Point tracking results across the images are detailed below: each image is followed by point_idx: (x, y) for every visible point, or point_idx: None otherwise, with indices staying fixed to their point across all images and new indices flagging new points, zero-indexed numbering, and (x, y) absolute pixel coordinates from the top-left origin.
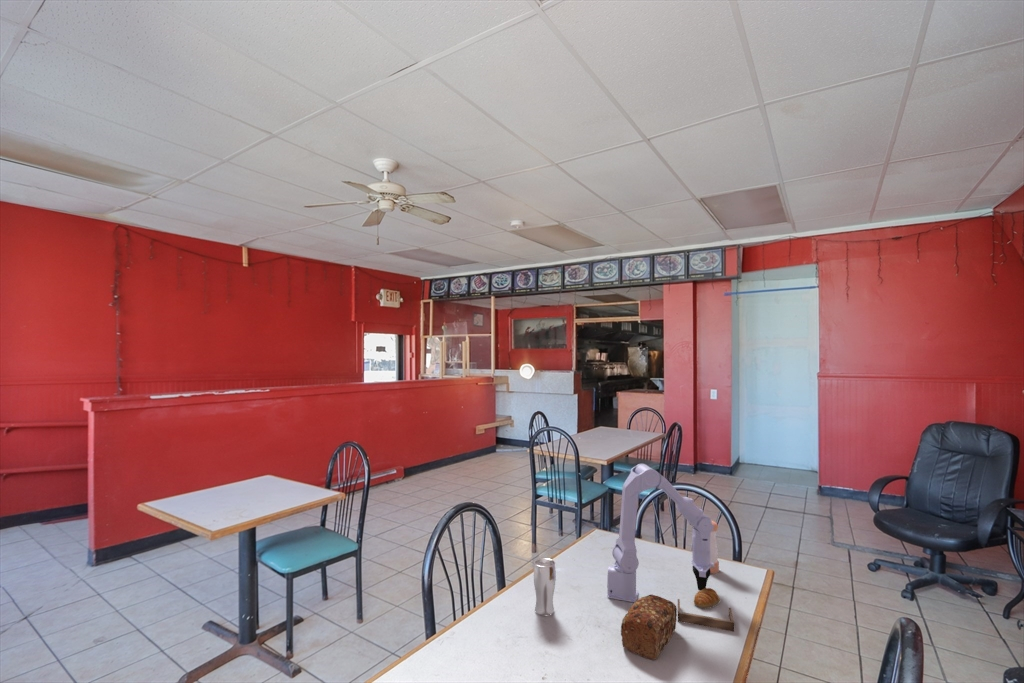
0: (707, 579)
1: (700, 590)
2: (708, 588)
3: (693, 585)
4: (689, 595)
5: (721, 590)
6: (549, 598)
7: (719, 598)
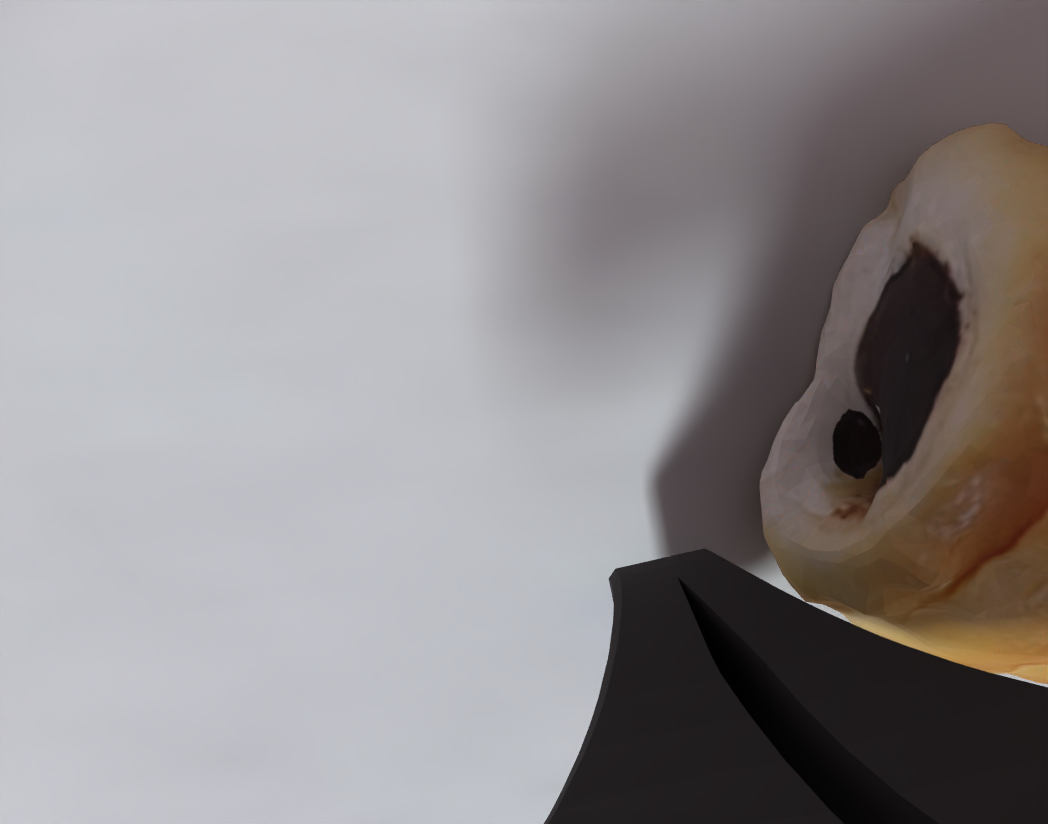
0: (1007, 681)
1: (1041, 654)
2: (975, 497)
3: (344, 790)
4: None
5: (187, 192)
6: None
7: (995, 145)
